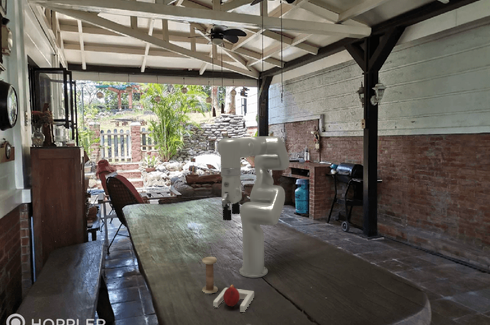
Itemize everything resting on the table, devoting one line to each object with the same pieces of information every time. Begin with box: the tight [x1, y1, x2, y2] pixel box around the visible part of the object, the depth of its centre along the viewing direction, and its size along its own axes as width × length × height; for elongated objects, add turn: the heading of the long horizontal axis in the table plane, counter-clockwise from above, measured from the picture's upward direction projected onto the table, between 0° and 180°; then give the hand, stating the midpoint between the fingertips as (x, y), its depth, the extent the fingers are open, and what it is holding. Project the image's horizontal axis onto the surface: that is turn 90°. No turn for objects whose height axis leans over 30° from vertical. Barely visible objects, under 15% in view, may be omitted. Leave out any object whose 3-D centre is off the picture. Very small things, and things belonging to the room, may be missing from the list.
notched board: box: [212, 287, 255, 313], centre depth 126 cm, size 12×12×2 cm
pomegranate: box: [223, 284, 240, 307], centre depth 123 cm, size 6×6×8 cm
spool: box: [201, 256, 219, 293], centre depth 135 cm, size 6×6×13 cm
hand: (231, 217), depth 132 cm, fingers open, 9 cm apart
